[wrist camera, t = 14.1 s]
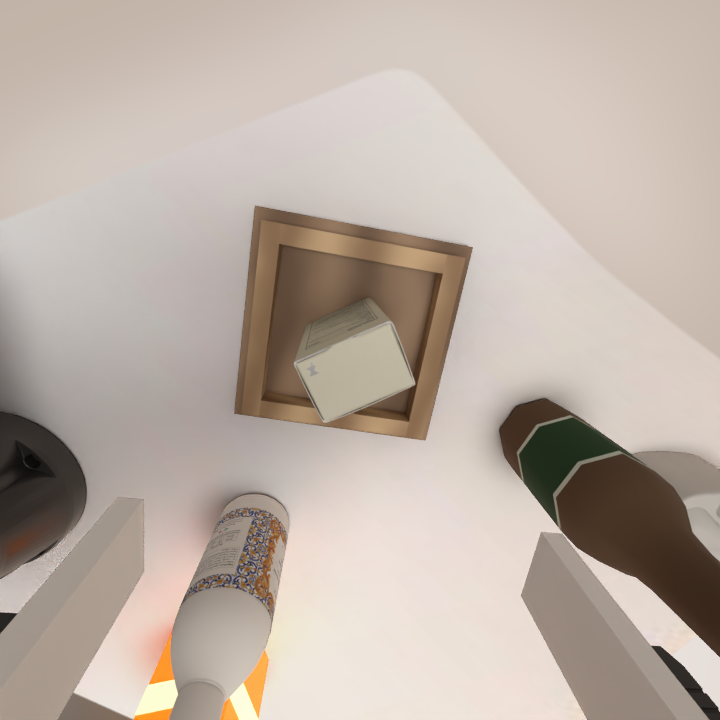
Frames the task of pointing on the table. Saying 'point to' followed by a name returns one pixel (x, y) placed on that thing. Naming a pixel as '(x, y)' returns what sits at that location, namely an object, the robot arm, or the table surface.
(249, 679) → the orange juice
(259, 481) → the table surface
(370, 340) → the skincare box
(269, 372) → the wooden tray
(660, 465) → the lumpy-topped squat cylinder
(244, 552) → the bath foam
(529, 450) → the beer bottle
